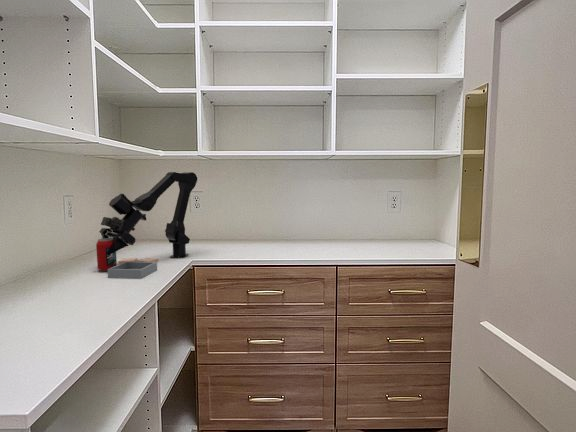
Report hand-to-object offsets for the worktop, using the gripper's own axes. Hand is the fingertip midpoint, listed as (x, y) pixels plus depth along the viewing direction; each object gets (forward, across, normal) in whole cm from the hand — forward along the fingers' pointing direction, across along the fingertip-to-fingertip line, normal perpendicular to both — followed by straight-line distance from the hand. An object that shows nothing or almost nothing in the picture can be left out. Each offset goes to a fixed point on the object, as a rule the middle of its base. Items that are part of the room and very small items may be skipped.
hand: (102, 253), depth 142 cm
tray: (+2, +13, +8) cm, 16 cm away
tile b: (-8, 0, +18) cm, 20 cm away
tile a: (-5, -7, +14) cm, 17 cm away
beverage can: (+4, 0, +6) cm, 7 cm away
